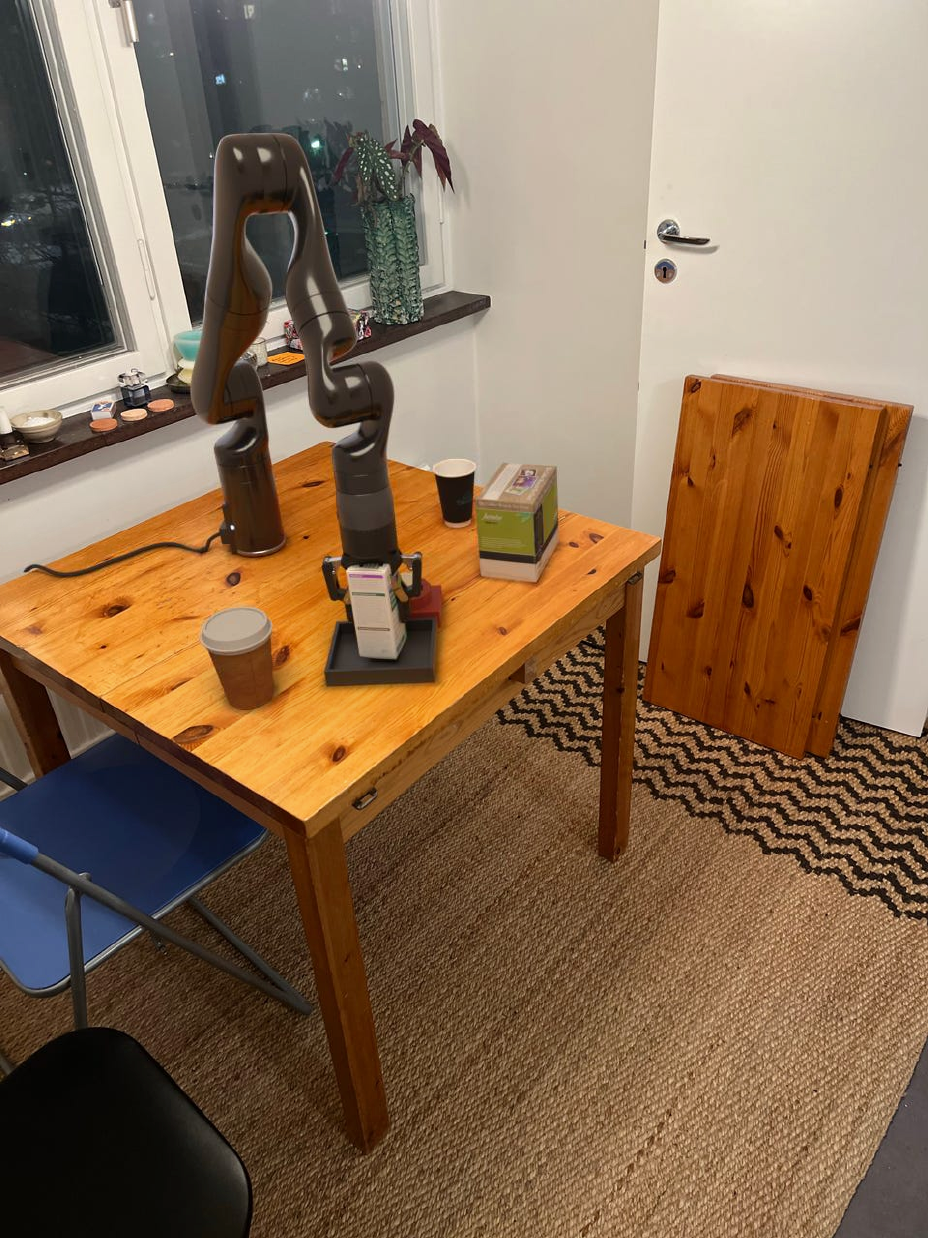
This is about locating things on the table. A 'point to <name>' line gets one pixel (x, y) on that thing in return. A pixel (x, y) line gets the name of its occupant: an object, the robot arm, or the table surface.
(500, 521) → the tea box
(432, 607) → the red square pod holder
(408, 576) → the button
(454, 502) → the dixie cup
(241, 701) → the disposable coffee cup
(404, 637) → the syrup box
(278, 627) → the table surface
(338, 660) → the tray
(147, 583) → the table surface
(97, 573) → the table surface
